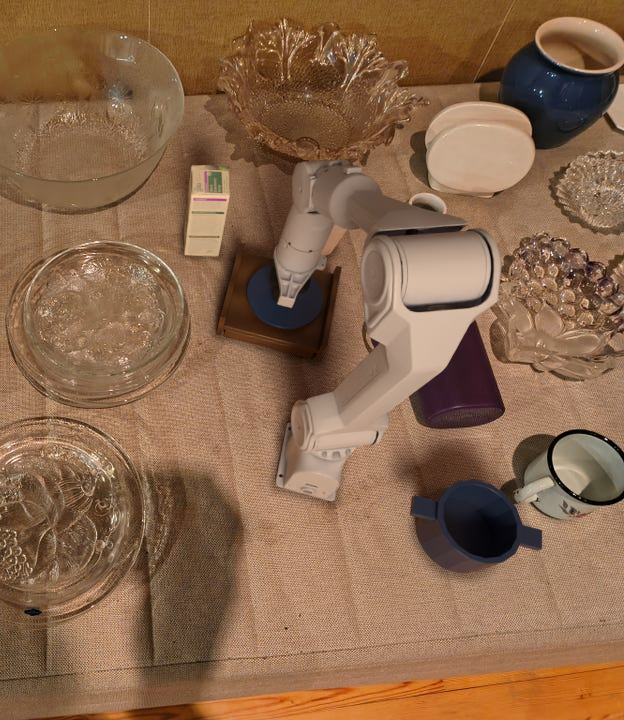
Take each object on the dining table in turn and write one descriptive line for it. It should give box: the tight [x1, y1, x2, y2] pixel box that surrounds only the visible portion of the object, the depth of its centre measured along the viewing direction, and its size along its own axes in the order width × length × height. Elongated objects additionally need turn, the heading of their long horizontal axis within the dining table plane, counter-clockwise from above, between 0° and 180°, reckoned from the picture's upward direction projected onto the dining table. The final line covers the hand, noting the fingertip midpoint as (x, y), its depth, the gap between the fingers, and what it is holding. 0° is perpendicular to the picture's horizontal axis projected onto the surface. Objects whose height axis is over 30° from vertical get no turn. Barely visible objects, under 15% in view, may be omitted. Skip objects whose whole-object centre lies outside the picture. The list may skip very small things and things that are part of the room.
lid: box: [247, 264, 323, 329], centre depth 97 cm, size 11×11×5 cm
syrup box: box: [183, 164, 231, 257], centre depth 101 cm, size 6×6×14 cm
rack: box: [215, 241, 342, 362], centre depth 99 cm, size 14×16×5 cm
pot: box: [409, 478, 543, 574], centre depth 84 cm, size 10×16×7 cm, turn 74°
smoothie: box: [321, 224, 348, 257], centre depth 101 cm, size 6×6×14 cm
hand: (282, 292), depth 97 cm, fingers closed on lid, 2 cm apart
